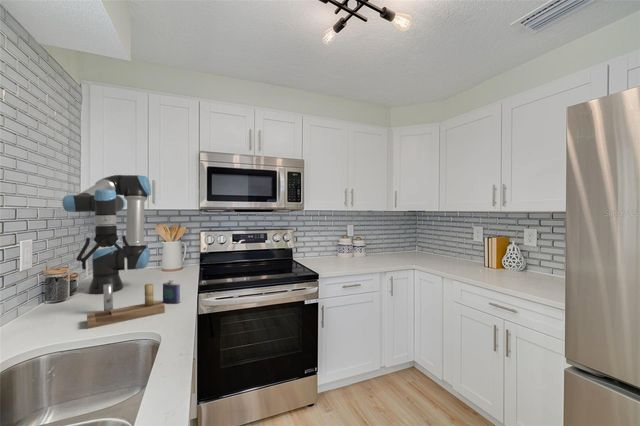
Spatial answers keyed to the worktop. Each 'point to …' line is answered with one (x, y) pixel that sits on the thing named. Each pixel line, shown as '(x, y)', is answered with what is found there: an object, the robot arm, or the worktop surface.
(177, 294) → the flask
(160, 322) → the worktop surface
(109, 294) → the peg
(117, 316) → the board
